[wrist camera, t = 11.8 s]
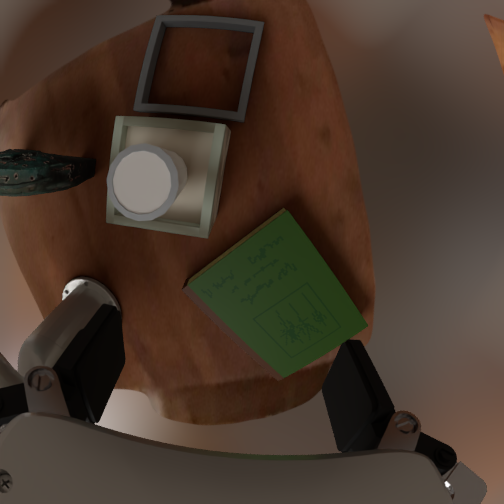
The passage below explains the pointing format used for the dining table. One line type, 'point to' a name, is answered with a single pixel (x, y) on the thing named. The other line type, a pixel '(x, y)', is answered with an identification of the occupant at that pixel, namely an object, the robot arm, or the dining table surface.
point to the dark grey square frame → (196, 22)
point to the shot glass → (145, 181)
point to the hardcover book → (276, 298)
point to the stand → (196, 160)
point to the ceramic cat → (41, 172)
